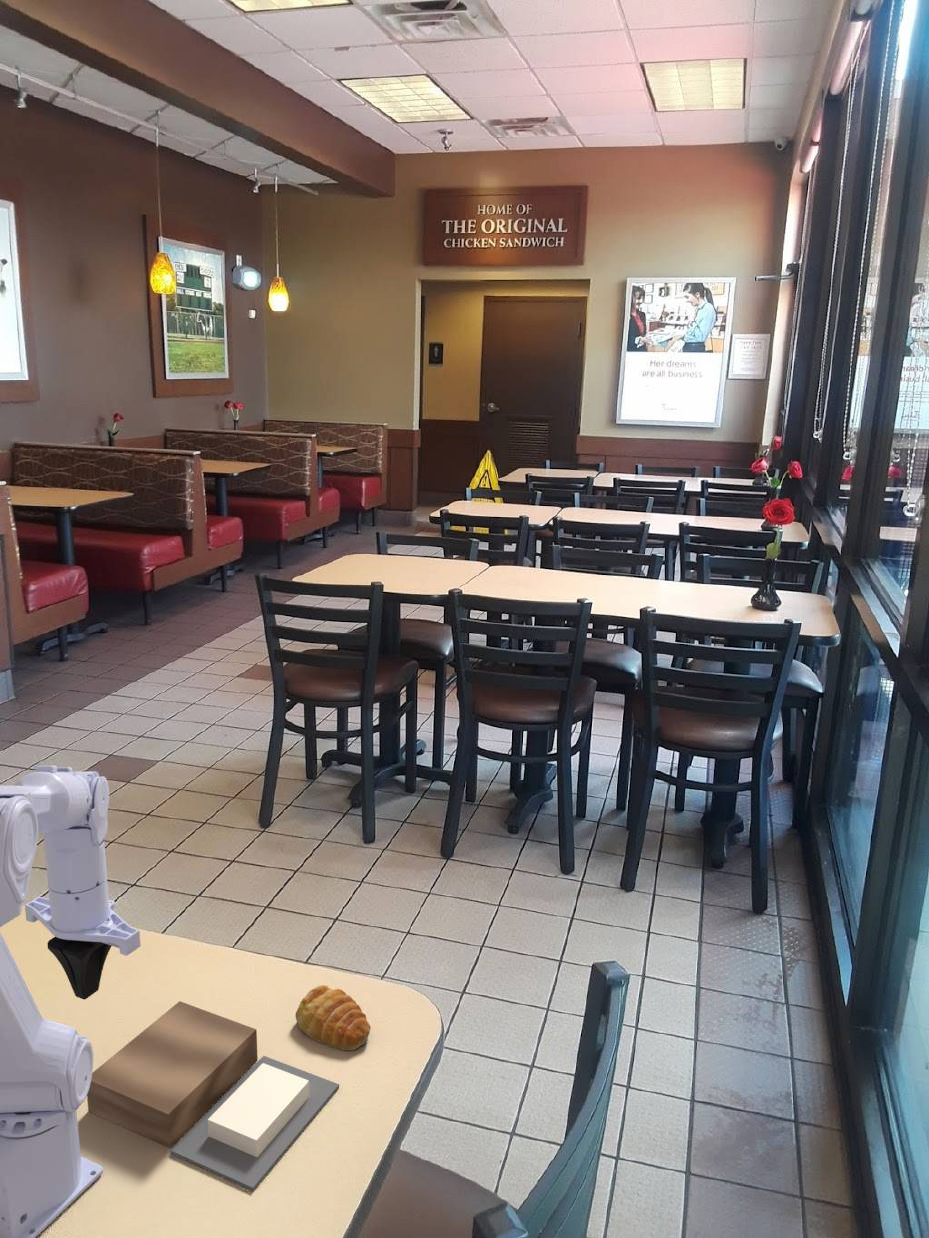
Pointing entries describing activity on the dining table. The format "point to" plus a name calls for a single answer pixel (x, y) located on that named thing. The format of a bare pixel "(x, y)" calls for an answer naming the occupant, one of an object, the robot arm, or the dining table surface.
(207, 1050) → the brown wooden block
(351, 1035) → the pastry
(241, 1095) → the block
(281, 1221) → the dining table surface
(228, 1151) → the mat
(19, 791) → the robot arm
